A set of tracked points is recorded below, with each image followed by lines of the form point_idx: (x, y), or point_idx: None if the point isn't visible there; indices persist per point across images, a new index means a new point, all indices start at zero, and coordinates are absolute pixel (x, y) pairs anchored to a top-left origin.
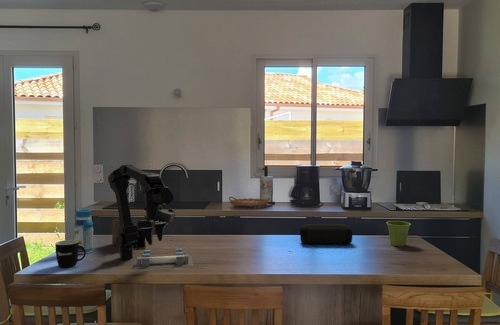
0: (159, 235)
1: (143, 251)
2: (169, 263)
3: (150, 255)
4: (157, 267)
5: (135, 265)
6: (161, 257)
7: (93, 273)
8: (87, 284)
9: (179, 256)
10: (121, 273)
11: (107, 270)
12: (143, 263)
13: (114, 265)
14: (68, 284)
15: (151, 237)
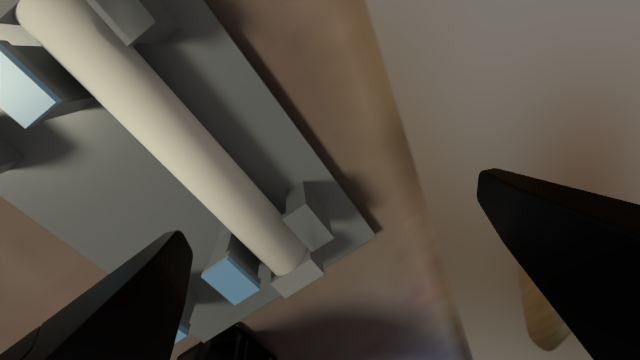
0: (157, 309)
1: (186, 334)
2: None
3: None
4: (292, 127)
5: None
6: (206, 165)
7: (447, 328)
8: None
9: (102, 15)
10: (419, 243)
11: (398, 315)
12: (325, 216)
13: (326, 339)
14: None
15: (629, 204)
